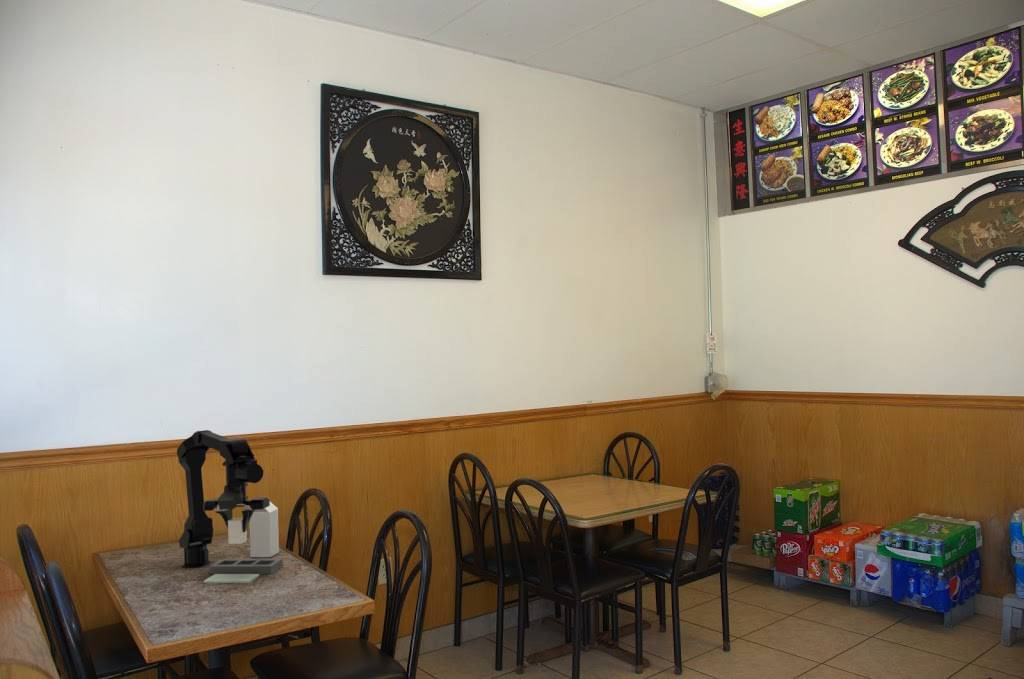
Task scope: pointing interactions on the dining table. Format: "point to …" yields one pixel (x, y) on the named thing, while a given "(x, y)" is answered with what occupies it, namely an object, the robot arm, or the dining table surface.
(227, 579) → the mat
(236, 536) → the plug
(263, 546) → the milk carton
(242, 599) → the dining table surface
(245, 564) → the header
